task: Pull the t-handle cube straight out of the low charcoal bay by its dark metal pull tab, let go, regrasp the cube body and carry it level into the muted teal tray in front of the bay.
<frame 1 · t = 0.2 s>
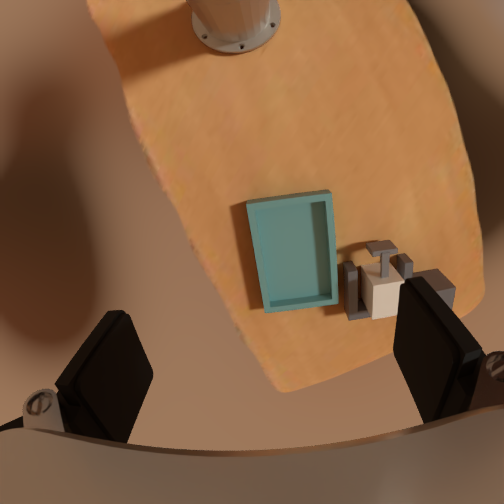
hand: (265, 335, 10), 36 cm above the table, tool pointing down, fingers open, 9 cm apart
bay: (375, 279, 49), on the table
t-handle cube: (374, 279, 49), on the table
tray: (295, 251, 48), on the table
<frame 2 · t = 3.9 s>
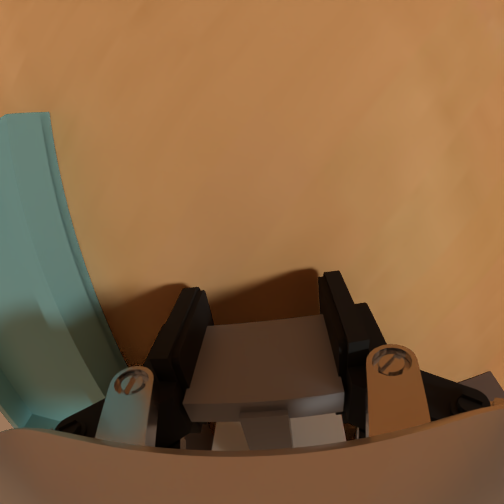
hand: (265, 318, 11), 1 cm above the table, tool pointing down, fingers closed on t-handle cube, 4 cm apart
bay: (282, 418, 14), on the table
t-handle cube: (283, 418, 14), on the table, touching gripper
tray: (22, 319, 13), on the table
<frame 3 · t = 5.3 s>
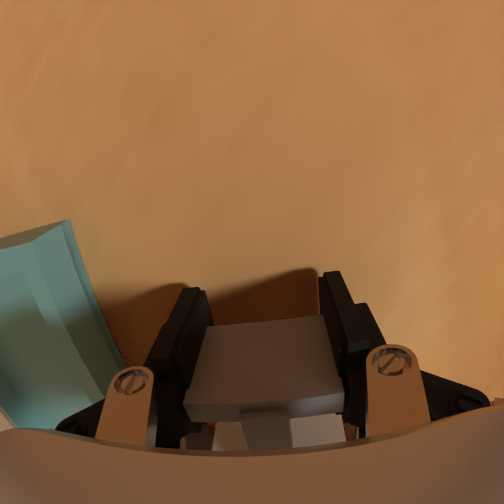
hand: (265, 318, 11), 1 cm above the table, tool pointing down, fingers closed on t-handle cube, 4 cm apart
bay: (288, 456, 16), on the table
t-handle cube: (283, 418, 14), on the table, touching gripper
tray: (56, 381, 14), on the table
when the fingers open (1 cm above the table, at t = 6.8 s): t-handle cube stays where it is, on the table.
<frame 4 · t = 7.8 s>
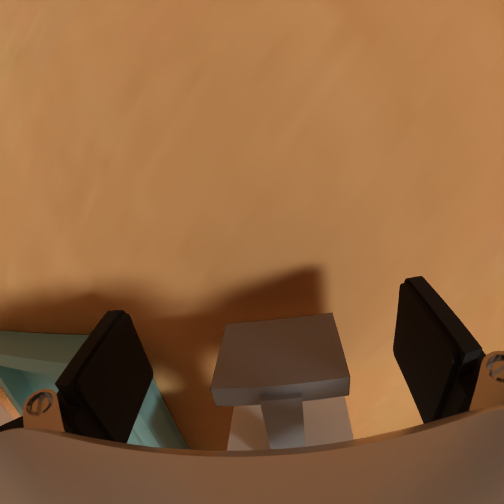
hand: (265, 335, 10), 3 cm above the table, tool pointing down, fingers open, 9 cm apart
t-handle cube: (292, 413, 15), on the table
tray: (110, 433, 18), on the table
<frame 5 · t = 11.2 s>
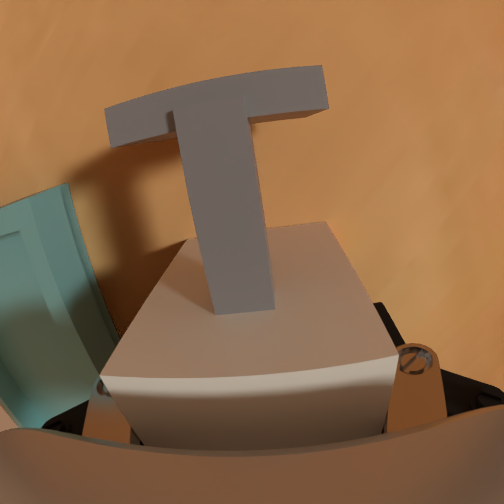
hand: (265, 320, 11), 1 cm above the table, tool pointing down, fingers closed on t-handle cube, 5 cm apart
t-handle cube: (266, 303, 12), on the table, touching gripper
tray: (49, 359, 14), on the table
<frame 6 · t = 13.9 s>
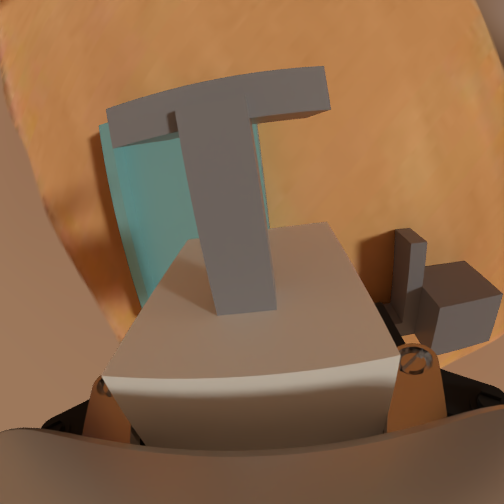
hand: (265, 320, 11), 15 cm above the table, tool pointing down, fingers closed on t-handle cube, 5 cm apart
bay: (352, 275, 27), on the table
t-handle cube: (267, 303, 12), point 14 cm above the table, touching gripper
tray: (195, 215, 25), on the table
when the fingers open (3 cm above the table, at t = 17.1 s): t-handle cube drops 1 cm, resting on tray.
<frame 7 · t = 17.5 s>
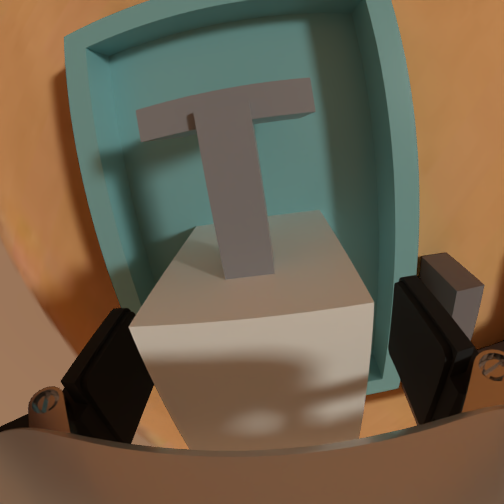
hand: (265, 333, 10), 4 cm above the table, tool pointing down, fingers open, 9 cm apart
bay: (489, 306, 14), on the table
t-handle cube: (267, 284, 13), point 1 cm above the table, touching tray
tray: (256, 212, 13), on the table
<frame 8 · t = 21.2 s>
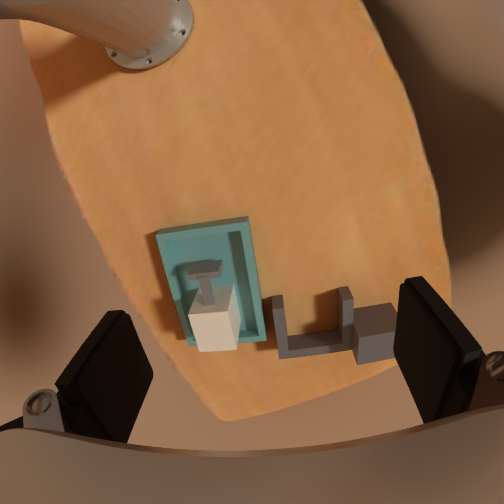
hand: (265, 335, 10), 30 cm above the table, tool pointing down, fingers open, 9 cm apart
bay: (312, 314, 45), on the table
t-handle cube: (220, 303, 44), point 1 cm above the table, touching tray
tray: (216, 283, 44), on the table
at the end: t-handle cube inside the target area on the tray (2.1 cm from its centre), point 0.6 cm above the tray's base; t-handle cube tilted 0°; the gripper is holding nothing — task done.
